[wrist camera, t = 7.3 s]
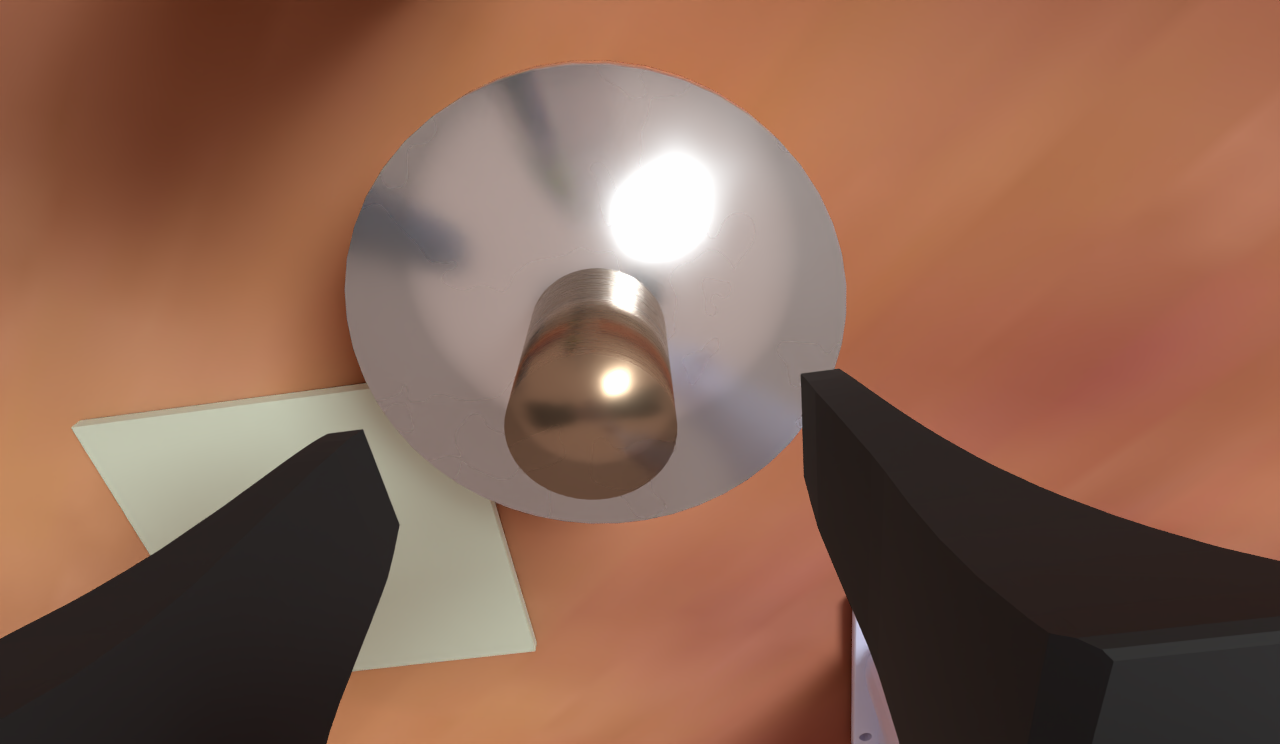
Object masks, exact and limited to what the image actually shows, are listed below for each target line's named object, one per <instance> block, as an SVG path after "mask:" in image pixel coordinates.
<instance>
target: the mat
mask: <svg viewBox="0 0 1280 744" xmlns="http://www.w3.org/2000/svg"><path fill="white" fill-rule="evenodd" d="M71 428H72V430H73V431H74V433H75V435H76V436H77V438H78V439H79V441H80V443H81V444H82V446H83V447H84V449H85V451H86V452H87V454H88V456H89V457H90V459H91V460H92V462H93V464H94V465H95V467H96V468H97V470H98V472H99V473H100V475H101V477H102V478H103V480H104V481H105V483H106V485H107V486H108V488H109V489H110V491H111V493H112V494H113V496H114V498H115V499H116V501H117V502H118V504H119V506H120V507H121V509H122V510H123V512H124V514H125V515H126V517H127V518H128V520H129V522H130V523H131V525H132V527H133V528H134V530H135V531H136V533H137V535H138V536H139V538H140V539H141V541H142V543H143V544H144V546H145V548H146V549H147V551H148V552H149V554H150V556H151V555H152V554H154V553H155V552H157V551H158V550H160V549H161V548H163V547H164V546H166V545H167V544H169V543H170V542H172V541H173V540H175V539H176V538H178V537H179V536H181V535H182V534H183V533H185V532H186V531H188V530H189V529H191V528H192V527H194V526H195V525H197V524H198V523H200V522H201V521H202V520H204V519H205V518H207V517H208V516H210V515H211V514H213V513H214V512H216V511H217V510H219V509H220V508H221V507H223V506H224V505H226V504H227V503H228V502H230V501H231V500H232V499H234V498H235V497H237V496H238V495H239V494H241V493H242V492H243V491H245V490H246V489H248V488H249V487H250V486H252V485H253V484H254V483H256V482H257V481H259V480H260V479H261V478H263V477H264V476H265V475H267V474H268V473H269V472H271V471H272V470H274V469H275V468H276V467H278V466H279V465H280V464H282V463H283V462H285V461H286V460H287V459H289V458H290V457H292V456H293V455H294V454H296V453H297V452H299V451H300V450H302V449H303V448H305V447H306V446H308V445H309V444H311V443H312V442H314V441H315V440H317V439H319V438H321V437H322V436H324V435H326V434H328V433H336V432H344V431H352V430H360V429H363V430H364V433H365V436H366V438H367V441H368V443H369V446H370V449H371V451H372V454H373V456H374V459H375V462H376V464H377V467H378V469H379V472H380V475H381V477H382V480H383V482H384V485H385V488H386V490H387V493H388V495H389V498H390V501H391V503H392V506H393V508H394V511H395V514H396V516H397V519H398V521H399V524H400V526H399V531H398V536H397V541H396V546H395V551H394V555H393V559H392V563H391V567H390V571H389V576H388V579H387V582H386V585H385V587H384V590H383V593H382V596H381V598H380V601H379V603H378V606H377V609H376V611H375V614H374V617H373V619H372V622H371V624H370V627H369V629H368V632H367V634H366V637H365V640H364V642H363V645H362V647H361V650H360V652H359V655H358V657H357V660H356V662H355V665H354V667H353V670H352V671H361V670H370V669H379V668H388V667H397V666H406V665H415V664H424V663H433V662H442V661H451V660H460V659H469V658H478V657H487V656H496V655H505V654H514V653H523V652H532V651H536V643H537V642H536V639H535V635H534V632H533V629H532V625H531V622H530V619H529V615H528V612H527V609H526V605H525V602H524V598H523V595H522V592H521V588H520V585H519V582H518V578H517V575H516V572H515V568H514V565H513V561H512V558H511V555H510V551H509V548H508V545H507V541H506V538H505V535H504V531H503V528H502V524H501V521H500V518H499V514H498V511H497V508H496V504H495V502H494V501H491V500H489V499H486V498H484V497H482V496H480V495H478V494H476V493H475V492H473V491H471V490H469V489H467V488H465V487H464V486H462V485H460V484H458V483H457V482H455V481H454V480H452V479H451V478H450V477H448V476H447V475H445V474H444V473H442V472H441V471H439V470H438V469H437V468H435V467H434V466H433V465H432V464H431V463H429V462H428V461H427V460H426V459H425V458H424V457H423V456H421V455H420V454H419V453H418V452H417V451H416V450H415V449H414V448H413V447H412V446H411V445H410V444H409V443H408V442H407V441H406V440H405V439H404V437H403V436H402V435H401V434H400V433H399V432H398V431H397V430H396V429H395V427H394V426H393V425H392V423H391V422H390V421H389V419H388V418H387V416H386V415H385V413H384V412H383V411H382V409H381V408H380V406H379V405H378V403H377V402H376V400H375V398H374V396H373V394H372V392H371V390H370V388H369V386H368V384H367V383H363V384H355V385H348V386H340V387H332V388H325V389H317V390H309V391H302V392H294V393H287V394H279V395H271V396H264V397H256V398H248V399H241V400H233V401H225V402H218V403H210V404H202V405H195V406H187V407H179V408H172V409H164V410H157V411H149V412H141V413H134V414H126V415H118V416H111V417H103V418H95V419H88V420H80V421H79V422H77V423H76V424H75V425H74V426H72V427H71Z"/></svg>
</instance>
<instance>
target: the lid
mask: <svg viewBox="0 0 1280 744" xmlns="http://www.w3.org/2000/svg"><path fill="white" fill-rule="evenodd" d="M345 300H346V314H347V322H348V327H349V332H350V336H351V341H352V345H353V350H354V352H355V355H356V358H357V361H358V363H359V366H360V369H361V371H362V374H363V377H364V379H365V381H366V383H367V384H368V386H369V388H370V390H371V392H372V394H373V396H374V398H375V400H376V402H377V403H378V405H379V406H380V408H381V409H382V411H383V412H384V413H385V415H386V416H387V418H388V419H389V421H390V422H391V423H392V425H393V426H394V427H395V429H396V430H397V431H398V432H399V433H400V434H401V435H402V436H403V437H404V439H405V440H406V441H407V442H408V443H409V444H410V445H411V446H412V447H413V448H414V449H415V450H416V451H417V452H418V453H419V454H420V455H421V456H423V457H424V458H425V459H426V460H427V461H428V462H429V463H431V464H432V465H433V466H434V467H435V468H437V469H438V470H439V471H441V472H442V473H444V474H445V475H447V476H448V477H450V478H451V479H452V480H454V481H455V482H457V483H458V484H460V485H462V486H464V487H465V488H467V489H469V490H471V491H473V492H475V493H476V494H478V495H480V496H482V497H484V498H486V499H489V500H491V501H494V502H496V503H498V504H501V505H503V506H506V507H508V508H511V509H515V510H518V511H521V512H525V513H528V514H531V515H535V516H539V517H544V518H550V519H555V520H560V521H568V522H580V523H623V522H632V521H640V520H648V519H652V518H657V517H661V516H666V515H670V514H674V513H677V512H680V511H683V510H686V509H689V508H692V507H695V506H698V505H700V504H703V503H705V502H707V501H709V500H711V499H713V498H716V497H718V496H720V495H722V494H724V493H726V492H728V491H729V490H731V489H733V488H734V487H736V486H738V485H739V484H741V483H743V482H744V481H746V480H748V479H749V478H750V477H752V476H753V475H754V474H755V473H757V472H758V471H759V470H761V469H762V468H763V467H765V466H766V465H767V464H769V463H770V462H771V461H772V460H773V459H774V458H775V457H776V456H777V455H778V454H779V453H780V452H781V451H782V450H783V449H784V448H785V447H786V446H787V445H788V444H789V443H790V442H791V441H792V440H793V438H794V437H795V436H796V435H797V433H798V432H799V431H800V430H801V428H802V402H801V373H809V372H817V371H825V370H833V369H834V368H835V365H836V361H837V358H838V355H839V351H840V348H841V344H842V338H843V332H844V325H845V318H846V280H845V273H844V266H843V258H842V253H841V249H840V246H839V242H838V239H837V236H836V232H835V229H834V225H833V223H832V220H831V218H830V216H829V214H828V212H827V209H826V207H825V205H824V203H823V201H822V199H821V196H820V194H819V193H818V191H817V189H816V188H815V186H814V185H813V183H812V182H811V180H810V179H809V177H808V176H807V174H806V173H805V171H804V170H803V168H802V166H801V165H800V164H799V163H798V162H797V160H796V159H795V158H794V157H793V156H792V155H791V154H790V153H789V151H788V150H787V149H786V148H785V147H784V146H783V145H782V144H781V142H780V141H779V140H778V139H777V138H776V137H775V136H774V135H773V134H772V133H771V132H770V131H769V130H768V129H767V128H766V127H764V126H763V125H762V124H761V123H760V122H759V121H757V120H756V119H755V118H754V117H753V116H752V115H750V114H749V113H748V112H747V111H746V110H744V109H743V108H741V107H740V106H738V105H737V104H735V103H733V102H732V101H730V100H729V99H727V98H726V97H724V96H722V95H721V94H719V93H718V92H716V91H714V90H712V89H710V88H708V87H706V86H703V85H701V84H699V83H697V82H694V81H692V80H690V79H688V78H685V77H683V76H681V75H677V74H674V73H670V72H667V71H663V70H660V69H656V68H653V67H649V66H646V65H638V64H631V63H624V62H617V61H567V62H561V63H554V64H547V65H540V66H535V67H532V68H528V69H525V70H522V71H518V72H515V73H512V74H508V75H505V76H502V77H500V78H497V79H495V80H493V81H491V82H489V83H487V84H485V85H482V86H480V87H478V88H476V89H474V90H472V91H470V92H468V93H467V94H465V95H464V96H462V97H461V98H459V99H458V100H456V101H454V102H453V103H451V104H450V105H448V106H447V107H445V108H444V109H442V110H441V111H439V112H438V113H437V114H435V115H434V116H433V117H431V118H430V119H429V120H428V121H427V122H426V123H425V124H423V125H422V126H421V127H420V128H419V129H418V130H417V131H416V132H415V133H413V134H412V135H411V136H410V137H409V138H408V139H407V140H406V141H405V142H404V143H403V144H402V145H401V147H400V148H399V149H398V150H397V152H396V153H395V154H394V155H393V156H392V158H391V159H390V160H389V161H388V163H387V164H386V165H385V166H384V167H383V169H382V171H381V172H380V174H379V176H378V177H377V179H376V181H375V183H374V184H373V186H372V188H371V189H370V191H369V193H368V195H367V196H366V198H365V201H364V204H363V206H362V209H361V211H360V214H359V216H358V219H357V221H356V224H355V226H354V230H353V234H352V239H351V243H350V247H349V252H348V256H347V265H346V279H345Z"/></svg>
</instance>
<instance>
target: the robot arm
mask: <svg viewBox="0 0 1280 744" xmlns="http://www.w3.org/2000/svg"><path fill="white" fill-rule="evenodd" d="M801 402H802V432H803V463H804V478H805V482H806V486H807V490H808V494H809V497H810V501H811V505H812V508H813V512H814V515H815V519H816V522H817V526H818V529H819V532H820V534H821V537H822V539H823V541H824V544H825V546H826V549H827V551H828V553H829V556H830V558H831V561H832V563H833V565H834V568H835V570H836V572H837V575H838V577H839V580H840V582H841V584H842V587H843V589H844V591H845V594H846V596H847V598H848V601H849V603H850V605H851V608H852V704H851V744H1280V561H1277V560H1273V559H1268V558H1264V557H1260V556H1255V555H1251V554H1247V553H1242V552H1238V551H1234V550H1229V549H1225V548H1221V547H1217V546H1214V545H1210V544H1206V543H1203V542H1199V541H1196V540H1193V539H1189V538H1186V537H1182V536H1179V535H1175V534H1172V533H1168V532H1165V531H1162V530H1158V529H1155V528H1151V527H1148V526H1145V525H1142V524H1139V523H1136V522H1133V521H1130V520H1127V519H1124V518H1121V517H1118V516H1115V515H1112V514H1109V513H1106V512H1104V511H1101V510H1098V509H1096V508H1093V507H1090V506H1088V505H1085V504H1082V503H1079V502H1077V501H1074V500H1071V499H1069V498H1066V497H1063V496H1061V495H1059V494H1056V493H1054V492H1051V491H1049V490H1046V489H1044V488H1042V487H1039V486H1037V485H1035V484H1032V483H1030V482H1028V481H1026V480H1024V479H1022V478H1020V477H1017V476H1015V475H1013V474H1011V473H1009V472H1007V471H1004V470H1002V469H1000V468H998V467H996V466H994V465H992V464H990V463H988V462H986V461H984V460H982V459H980V458H978V457H976V456H974V455H973V454H971V453H969V452H967V451H965V450H964V449H962V448H960V447H958V446H957V445H955V444H953V443H951V442H950V441H948V440H946V439H944V438H942V437H941V436H939V435H937V434H936V433H934V432H933V431H931V430H929V429H928V428H926V427H924V426H923V425H921V424H920V423H918V422H916V421H915V420H913V419H912V418H910V417H909V416H907V415H906V414H904V413H903V412H901V411H900V410H898V409H897V408H895V407H894V406H892V405H891V404H889V403H888V402H886V401H885V400H884V399H882V398H881V397H879V396H878V395H876V394H875V393H874V392H872V391H871V390H869V389H868V388H866V387H865V386H864V385H862V384H861V383H859V382H858V381H857V380H855V379H854V378H852V377H851V376H849V375H848V374H846V373H845V372H843V371H842V370H840V369H833V370H825V371H817V372H809V373H801ZM399 526H400V524H399V521H398V519H397V516H396V514H395V511H394V508H393V506H392V503H391V501H390V498H389V495H388V493H387V490H386V488H385V485H384V482H383V480H382V477H381V475H380V472H379V469H378V467H377V464H376V462H375V459H374V456H373V454H372V451H371V449H370V446H369V443H368V441H367V438H366V436H365V433H364V430H363V429H360V430H352V431H344V432H336V433H328V434H326V435H324V436H322V437H321V438H319V439H317V440H315V441H314V442H312V443H311V444H309V445H308V446H306V447H305V448H303V449H302V450H300V451H299V452H297V453H296V454H294V455H293V456H292V457H290V458H289V459H287V460H286V461H285V462H283V463H282V464H280V465H279V466H278V467H276V468H275V469H274V470H272V471H271V472H269V473H268V474H267V475H265V476H264V477H263V478H261V479H260V480H259V481H257V482H256V483H254V484H253V485H252V486H250V487H249V488H248V489H246V490H245V491H243V492H242V493H241V494H239V495H238V496H237V497H235V498H234V499H232V500H231V501H230V502H228V503H227V504H226V505H224V506H223V507H221V508H220V509H219V510H217V511H216V512H214V513H213V514H211V515H210V516H208V517H207V518H205V519H204V520H202V521H201V522H200V523H198V524H197V525H195V526H194V527H192V528H191V529H189V530H188V531H186V532H185V533H183V534H182V535H181V536H179V537H178V538H176V539H175V540H173V541H172V542H170V543H169V544H167V545H166V546H164V547H163V548H161V549H160V550H158V551H157V552H155V553H154V554H152V555H151V556H149V557H147V558H146V559H144V560H143V561H141V562H139V563H138V564H136V565H135V566H133V567H131V568H130V569H128V570H126V571H125V572H123V573H121V574H120V575H118V576H116V577H114V578H113V579H111V580H109V581H108V582H106V583H104V584H102V585H101V586H99V587H97V588H96V589H94V590H92V591H90V592H89V593H87V594H85V595H83V596H81V597H80V598H78V599H76V600H74V601H72V602H71V603H69V604H67V605H65V606H63V607H61V608H59V609H57V610H55V611H53V612H51V613H49V614H47V615H45V616H43V617H41V618H39V619H38V620H36V621H34V622H32V623H30V624H28V625H26V626H24V627H22V628H20V629H18V630H16V631H14V632H12V633H10V634H8V635H7V636H5V637H3V638H1V639H0V744H326V743H327V740H328V736H329V732H330V729H331V726H332V723H333V720H334V718H335V715H336V712H337V709H338V706H339V703H340V700H341V698H342V695H343V693H344V690H345V688H346V685H347V683H348V680H349V678H350V675H351V672H352V670H353V667H354V665H355V662H356V660H357V657H358V655H359V652H360V650H361V647H362V645H363V642H364V640H365V637H366V634H367V632H368V629H369V627H370V624H371V622H372V619H373V617H374V614H375V611H376V609H377V606H378V603H379V601H380V598H381V596H382V593H383V590H384V587H385V585H386V582H387V579H388V576H389V571H390V567H391V563H392V559H393V555H394V551H395V546H396V541H397V536H398V531H399Z"/></svg>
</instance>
